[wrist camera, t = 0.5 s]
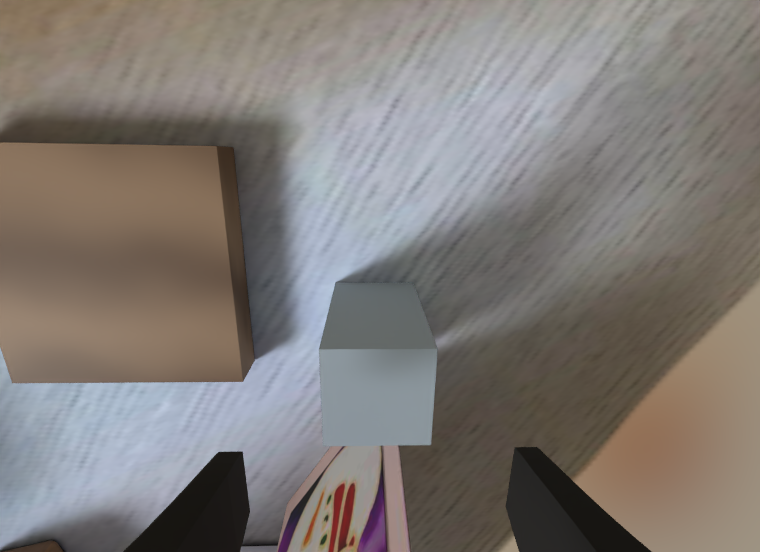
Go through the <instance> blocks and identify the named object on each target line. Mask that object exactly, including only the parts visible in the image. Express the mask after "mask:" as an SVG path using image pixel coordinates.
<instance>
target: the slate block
mask: <svg viewBox="0 0 760 552" xmlns="http://www.w3.org/2000/svg"><path fill="white" fill-rule="evenodd" d="M437 351H438V349H437V346H436V343H435V340H434V338H433V335H432V332H431V330H430V327H429V324H428V322H427V319H426V316H425V313H424V311H423V308H422V305H421V303H420V300H419V297H418V294H417V292H416V289H415V286H414V284H413V283H352V282H336V283H335V287H334V291H333V295H332V299H331V303H330V307H329V311H328V315H327V320H326V324H325V328H324V332H323V336H322V340H321V344H320V348H319V360H320V385H321V411H322V437H323V446H397V445H431V437H432V423H433V409H434V394H435V380H436V366H437Z"/></svg>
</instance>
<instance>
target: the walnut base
mask: <svg viewBox="0 0 760 552" xmlns="http://www.w3.org/2000/svg"><path fill="white" fill-rule="evenodd" d="M0 347H1V350H2V353H3V356H4V359H5V362H6V365H7V368H8V371H9V374H10V377H11V380H12V383H114V382H243V381H244V379H245V377H246V375H247V373H248V372H249V370H250V368H251V366H252V364H253V362H254V361H255V360H254V350H253V340H252V330H251V320H250V310H249V300H248V290H247V279H246V269H245V259H244V249H243V239H242V229H241V219H240V209H239V199H238V189H237V179H236V169H235V159H234V149H233V147H223V146H184V145H124V144H64V143H4V142H0Z"/></svg>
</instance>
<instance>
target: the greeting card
mask: <svg viewBox="0 0 760 552" xmlns="http://www.w3.org/2000/svg"><path fill="white" fill-rule="evenodd" d="M277 552H411V547H410V538H409V529H408V520H407V511H406V502H405V494H404V485H403V476H402V467H401V458H400V449H399V445H397V446H331V447H330V449H329V450H328V451H327V452H326V454H325V455H324V456H323V458H322V459H321V460H320V462H319V463H318V464H317V465H316V467H315V468H314V469H313V471H312V472H311V473H310V475H309V476H308V477H307V478H306V480H305V481H304V482H303V484H302V485H301V486H300V488H299V489H298V490H297V491H296V493H295V494H294V495H293V497H292V498H291V499H290V501H289V502H288V503H287V508H286V512H285V517H284V521H283V525H282V530H281V534H280V538H279V543H278V547H277Z"/></svg>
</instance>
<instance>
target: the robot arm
mask: <svg viewBox="0 0 760 552" xmlns="http://www.w3.org/2000/svg"><path fill="white" fill-rule="evenodd" d="M506 509H507V512H508V516H509V519H510V523H511V526H512V530H513V533H514V536H515V539H516V542H517V546H518V549H519V552H651V551H650V550H649V549H648V548H647V547H645V546H644V545H643V544H641V542H639V541H638V540H637V539H636V538H635V537H633V536H632V535H631V534H630V533H629V532H628V531H626V529H624V528H623V527H622V526H621V525H620V524H619V523H618V522H616V521H615V520H614V519H613V518H612V517H611V516H610V515H608V514H607V513H606V512H605V511H604V510H603V509H602V508H601V507H600V506H599V505H598V504H597V503H596V502H594V501H593V500H592V499H591V498H590V497H589V496H588V495H587V494H586V493H585V492H584V491H583V490H582V489H581V488H579V487H578V486H577V485H576V484H575V483H574V482H573V481H572V480H571V479H570V478H569V477H568V476H567V475H566V474H565V473H564V472H563V471H562V470H561V469H560V468H559V467H558V466H557V465H556V464H554V463H553V462H552V461H551V460H550V459H549V458H548V457H547V456H546V455H545V454H544V453H543V452H542V451H541V450H540V449H539V448H538V447H516V448H515V449H514V456H513V462H512V469H511V475H510V482H509V489H508V495H507V502H506ZM249 513H250V508H249V500H248V492H247V484H246V476H245V468H244V460H243V452H218V453H217V454H216V455H215V456H214V457H213V458H212V459H211V460H210V462H209V463H208V464H207V465H206V466H205V467H204V468H203V469H202V470H201V471H200V472H199V474H198V475H197V476H196V477H195V478H194V479H193V480H192V481H191V482H190V483H189V484H188V486H187V487H186V488H185V489H184V490H183V491H182V492H181V493H180V494H179V495H178V496H177V497H176V498H175V500H174V501H173V502H172V503H171V504H170V505H169V506H168V507H167V508H166V509H165V510H164V511H163V512H162V513H161V514H160V515H159V516H158V517H157V518H156V519H155V520H154V521H153V522H152V523H151V524H150V526H149V527H148V528H147V529H146V530H145V531H144V532H143V533H142V534H141V535H140V536H139V537H138V538H137V539H136V540H134V541H133V542H132V543H131V544H130V545H129V546H128V547H127V548H126V549H125V550H124V551H123V552H277V547H278V546H242V542H243V538H244V534H245V530H246V526H247V522H248V517H249Z"/></svg>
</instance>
